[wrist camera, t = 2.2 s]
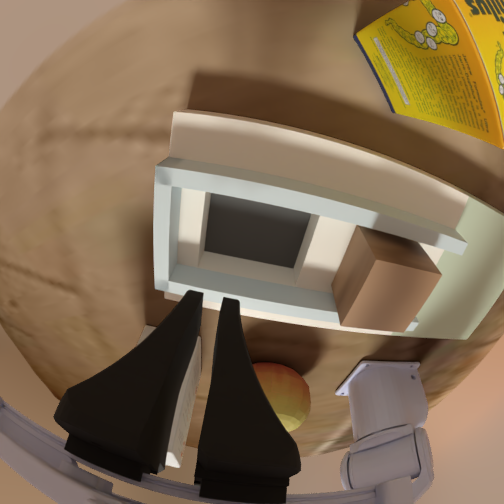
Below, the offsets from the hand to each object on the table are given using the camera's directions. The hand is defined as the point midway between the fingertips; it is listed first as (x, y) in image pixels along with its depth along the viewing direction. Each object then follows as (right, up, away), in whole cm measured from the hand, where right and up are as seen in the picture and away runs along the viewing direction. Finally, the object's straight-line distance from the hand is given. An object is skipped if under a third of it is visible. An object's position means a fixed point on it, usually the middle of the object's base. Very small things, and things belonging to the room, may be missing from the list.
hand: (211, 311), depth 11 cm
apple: (+3, -12, +19) cm, 22 cm away
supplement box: (+12, +15, +1) cm, 19 cm away
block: (+10, +2, +6) cm, 12 cm away
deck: (+12, +3, +8) cm, 15 cm away
